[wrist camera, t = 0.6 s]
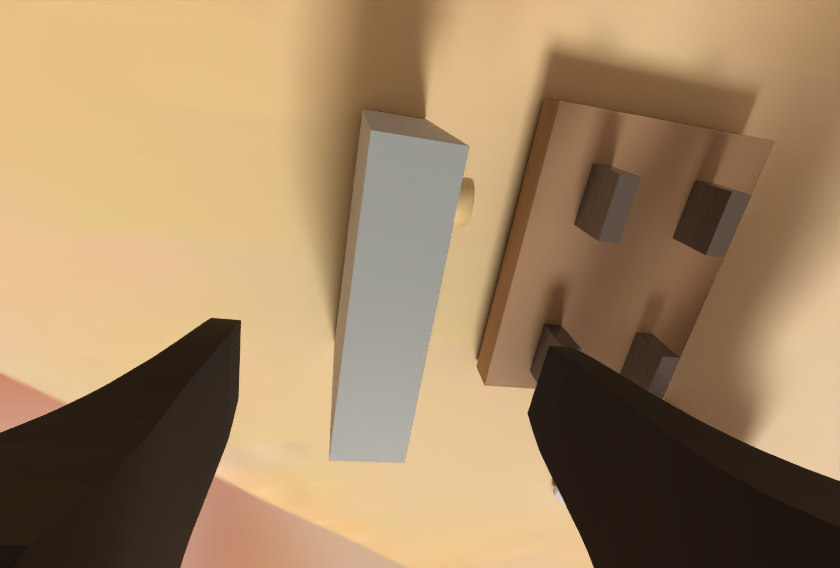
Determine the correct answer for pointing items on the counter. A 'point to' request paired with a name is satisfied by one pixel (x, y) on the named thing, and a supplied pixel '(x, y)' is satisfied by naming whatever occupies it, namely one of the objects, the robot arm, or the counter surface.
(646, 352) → the short dark cabinet legs
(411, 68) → the counter surface
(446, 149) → the grey rectangular block
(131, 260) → the counter surface
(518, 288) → the cabinet base
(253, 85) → the counter surface
